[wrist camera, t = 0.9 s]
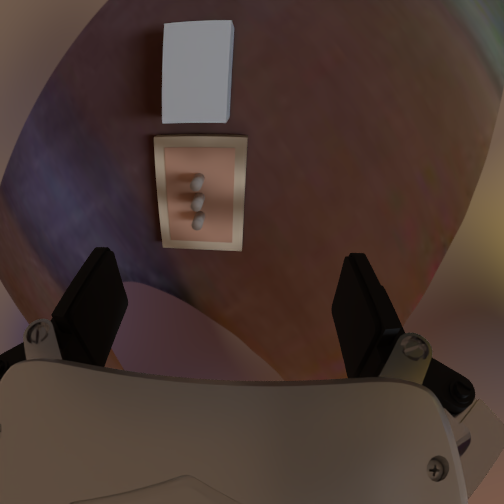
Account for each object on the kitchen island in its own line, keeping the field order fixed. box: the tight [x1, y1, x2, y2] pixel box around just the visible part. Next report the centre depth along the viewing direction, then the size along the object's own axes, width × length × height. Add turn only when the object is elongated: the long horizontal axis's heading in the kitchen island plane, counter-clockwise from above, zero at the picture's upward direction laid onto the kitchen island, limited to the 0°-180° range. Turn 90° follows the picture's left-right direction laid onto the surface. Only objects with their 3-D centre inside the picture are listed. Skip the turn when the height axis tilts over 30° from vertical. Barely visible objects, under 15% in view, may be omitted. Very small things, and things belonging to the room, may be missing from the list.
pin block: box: [154, 134, 248, 251], centre depth 32 cm, size 14×10×4 cm
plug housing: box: [162, 20, 234, 123], centre depth 23 cm, size 10×6×4 cm, turn 177°
